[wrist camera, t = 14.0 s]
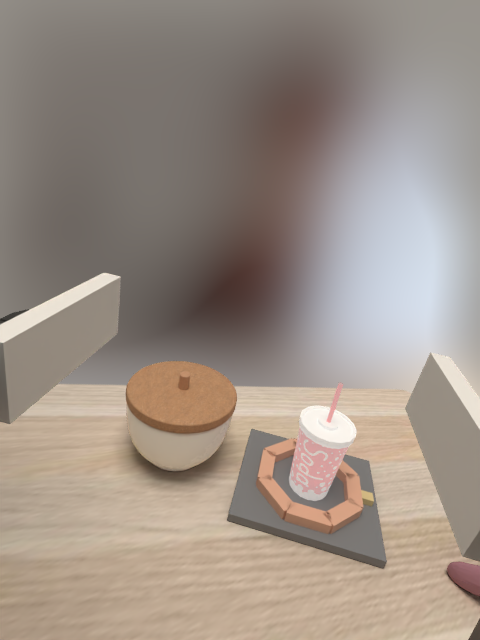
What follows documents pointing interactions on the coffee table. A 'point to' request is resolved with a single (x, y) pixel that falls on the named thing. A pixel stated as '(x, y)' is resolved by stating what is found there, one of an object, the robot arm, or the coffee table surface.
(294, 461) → the beverage cup
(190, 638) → the coffee table surface
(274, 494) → the ring board
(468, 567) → the video game controller
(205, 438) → the lidded bowl
